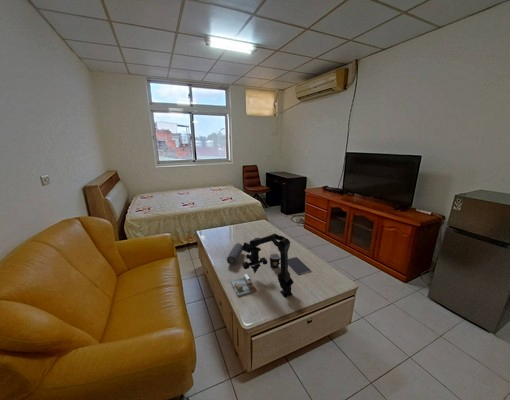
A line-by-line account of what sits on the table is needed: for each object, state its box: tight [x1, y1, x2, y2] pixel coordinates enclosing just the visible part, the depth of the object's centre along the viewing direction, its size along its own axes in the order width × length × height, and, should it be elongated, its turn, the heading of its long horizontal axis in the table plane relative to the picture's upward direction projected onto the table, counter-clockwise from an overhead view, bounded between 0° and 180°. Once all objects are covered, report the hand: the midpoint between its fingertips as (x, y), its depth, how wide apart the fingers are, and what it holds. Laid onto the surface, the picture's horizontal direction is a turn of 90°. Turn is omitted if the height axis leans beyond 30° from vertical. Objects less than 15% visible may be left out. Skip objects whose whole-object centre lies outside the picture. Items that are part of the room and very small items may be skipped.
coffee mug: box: [268, 253, 281, 270], centre depth 176 cm, size 12×9×10 cm
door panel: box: [230, 277, 258, 298], centre depth 154 cm, size 16×14×4 cm
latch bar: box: [243, 273, 252, 285], centre depth 158 cm, size 10×3×3 cm, turn 23°
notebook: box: [288, 256, 312, 276], centre depth 179 cm, size 13×2×21 cm
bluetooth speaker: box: [226, 242, 244, 266], centre depth 188 cm, size 23×9×10 cm, turn 168°
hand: (254, 272), depth 163 cm, fingers closed
